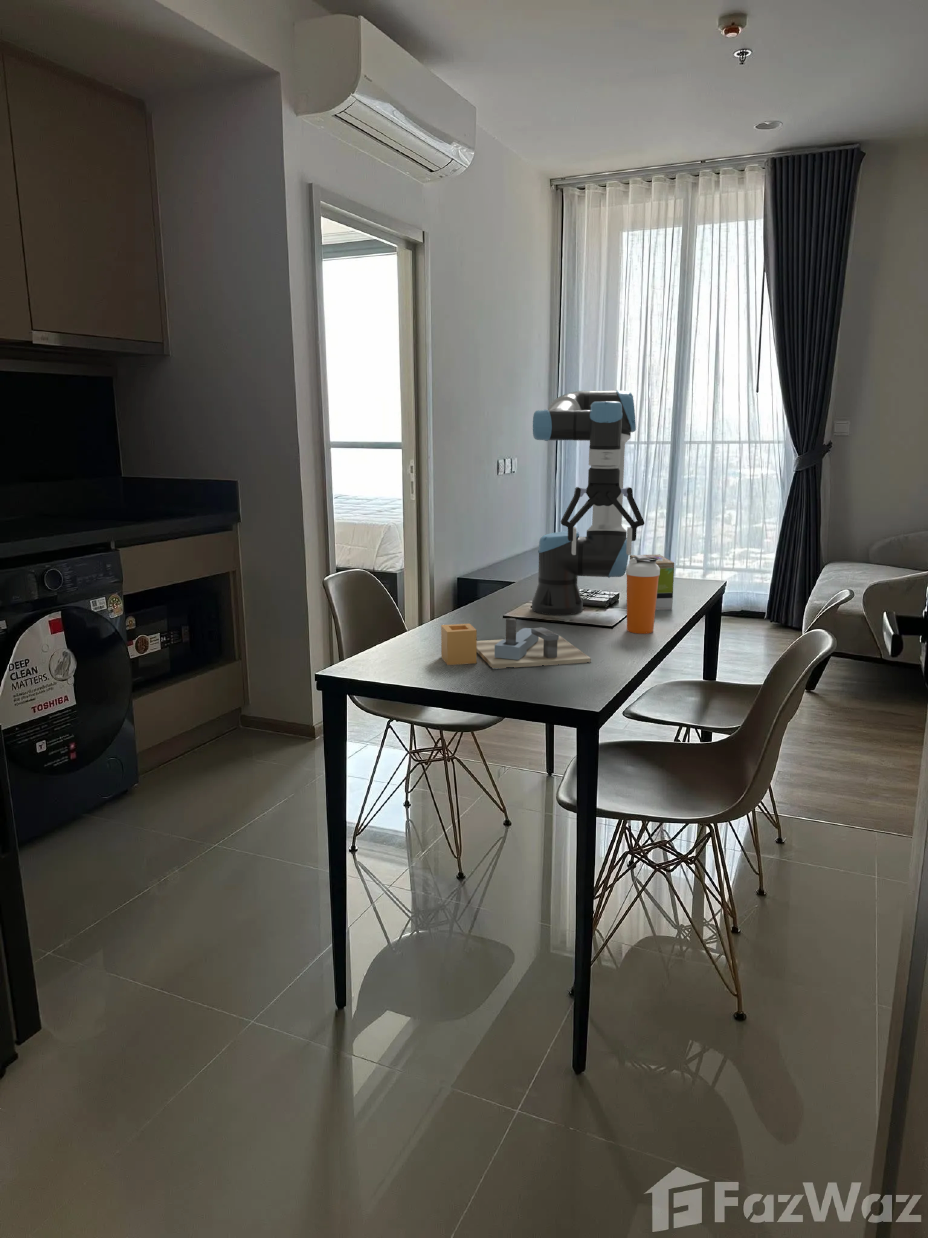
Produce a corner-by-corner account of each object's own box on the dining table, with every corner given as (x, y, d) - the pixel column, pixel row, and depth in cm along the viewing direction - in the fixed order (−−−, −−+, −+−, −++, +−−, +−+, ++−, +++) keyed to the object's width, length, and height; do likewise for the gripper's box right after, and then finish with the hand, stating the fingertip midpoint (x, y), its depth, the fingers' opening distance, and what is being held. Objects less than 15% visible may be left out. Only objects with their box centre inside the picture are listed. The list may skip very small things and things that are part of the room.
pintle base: (470, 645, 222) (470, 606, 220) (559, 639, 228) (560, 602, 225) (492, 668, 202) (493, 626, 199) (590, 662, 207) (592, 621, 205)
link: (518, 660, 205) (518, 647, 204) (494, 657, 207) (494, 645, 206) (542, 640, 222) (542, 629, 221) (519, 638, 224) (519, 627, 223)
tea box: (627, 600, 276) (629, 554, 273) (658, 599, 277) (660, 553, 273) (640, 610, 261) (642, 561, 258) (673, 610, 262) (675, 561, 259)
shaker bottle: (657, 635, 232) (660, 560, 227) (622, 633, 234) (626, 559, 229) (656, 627, 240) (660, 555, 236) (623, 626, 242) (626, 554, 238)
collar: (441, 657, 211) (441, 625, 210) (469, 655, 213) (469, 623, 211) (447, 665, 205) (447, 631, 203) (476, 663, 206) (476, 630, 204)
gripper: (553, 468, 208) (551, 556, 213) (659, 468, 207) (654, 556, 212) (551, 466, 215) (549, 551, 220) (652, 466, 215) (648, 551, 220)
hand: (601, 554), depth 216 cm, fingers open, 13 cm apart
